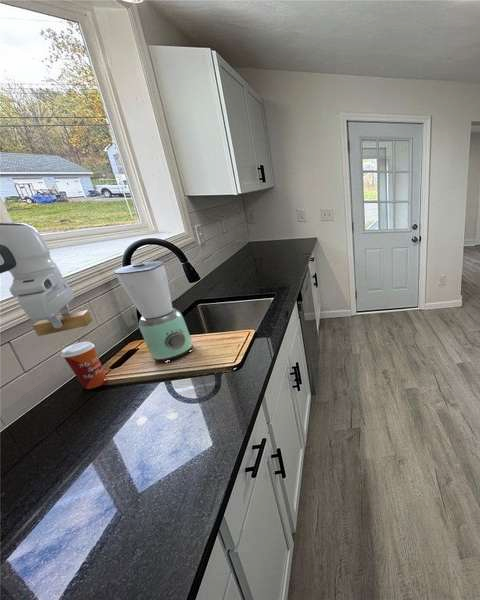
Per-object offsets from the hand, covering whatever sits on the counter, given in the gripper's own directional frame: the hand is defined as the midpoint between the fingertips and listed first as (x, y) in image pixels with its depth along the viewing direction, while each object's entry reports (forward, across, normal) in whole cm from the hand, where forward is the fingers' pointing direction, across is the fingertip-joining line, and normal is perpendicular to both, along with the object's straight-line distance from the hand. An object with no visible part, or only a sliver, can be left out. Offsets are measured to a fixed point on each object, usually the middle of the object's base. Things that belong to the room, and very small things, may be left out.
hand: (63, 323), depth 94 cm
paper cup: (+22, 0, 0) cm, 22 cm away
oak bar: (+2, 0, 0) cm, 2 cm away
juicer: (+22, -7, +21) cm, 32 cm away
